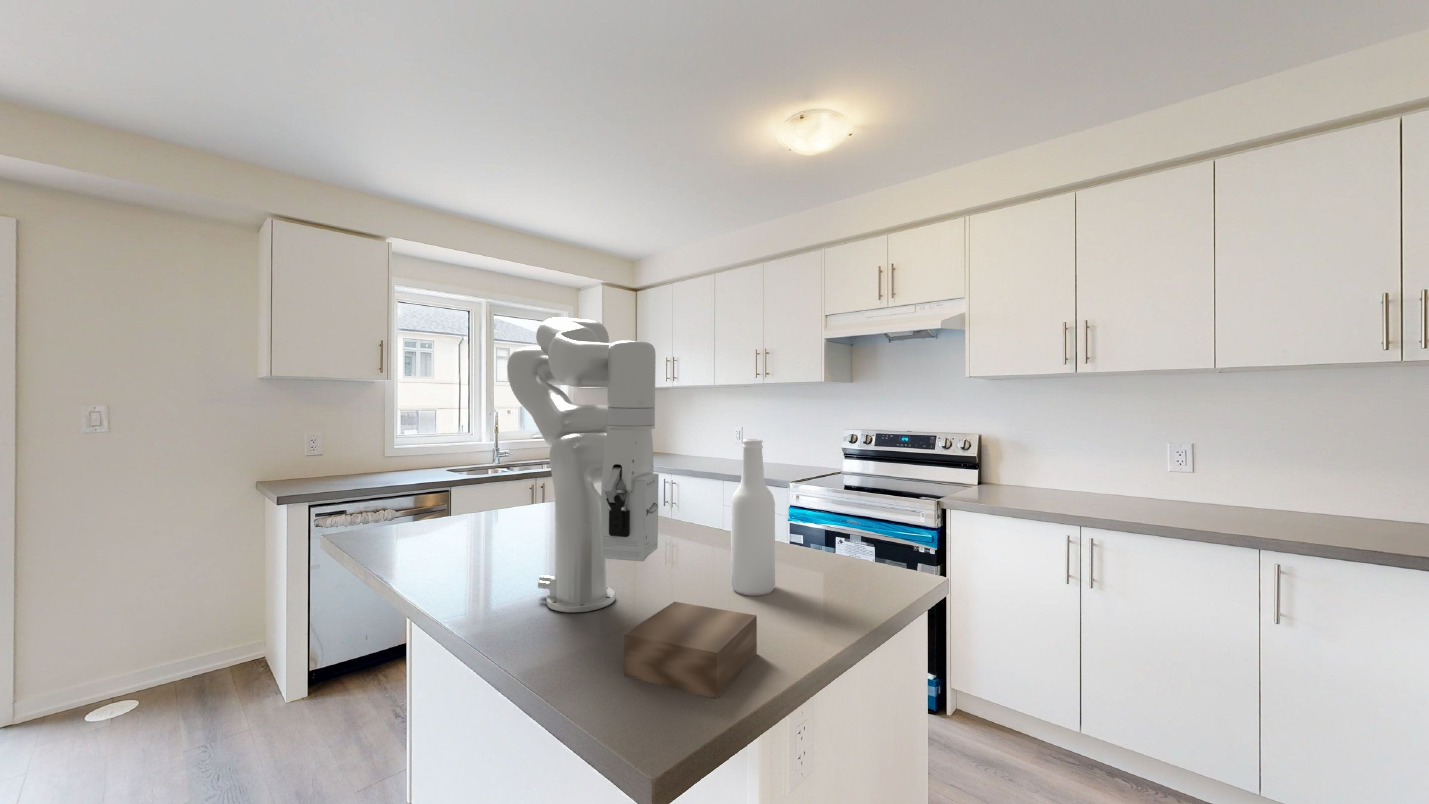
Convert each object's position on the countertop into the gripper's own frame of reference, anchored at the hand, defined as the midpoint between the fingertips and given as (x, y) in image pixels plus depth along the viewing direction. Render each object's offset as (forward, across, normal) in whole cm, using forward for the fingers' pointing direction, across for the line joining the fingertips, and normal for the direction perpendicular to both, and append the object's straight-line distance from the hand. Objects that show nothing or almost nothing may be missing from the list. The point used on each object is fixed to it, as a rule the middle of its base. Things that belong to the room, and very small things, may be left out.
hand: (630, 529), depth 89 cm
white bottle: (+17, -27, +15) cm, 36 cm away
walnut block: (+17, +7, +13) cm, 22 cm away
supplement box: (+4, 0, 0) cm, 4 cm away
